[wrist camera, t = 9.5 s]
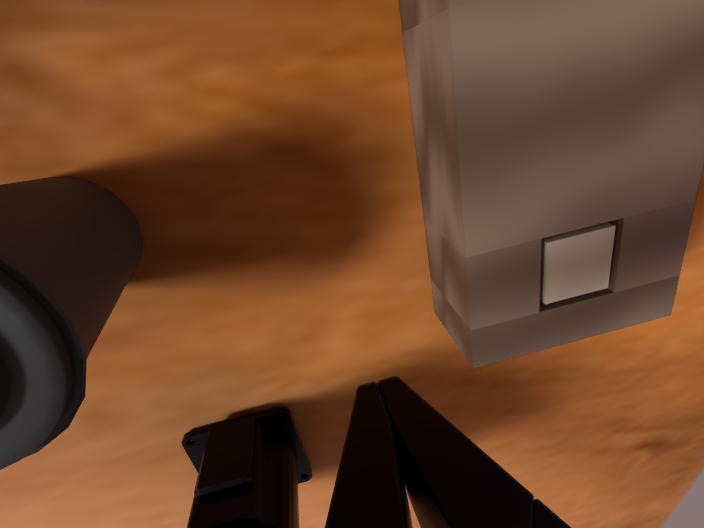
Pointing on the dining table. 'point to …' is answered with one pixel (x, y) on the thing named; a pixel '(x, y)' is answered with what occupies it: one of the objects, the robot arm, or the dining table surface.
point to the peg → (576, 262)
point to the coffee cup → (55, 300)
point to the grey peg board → (553, 157)
